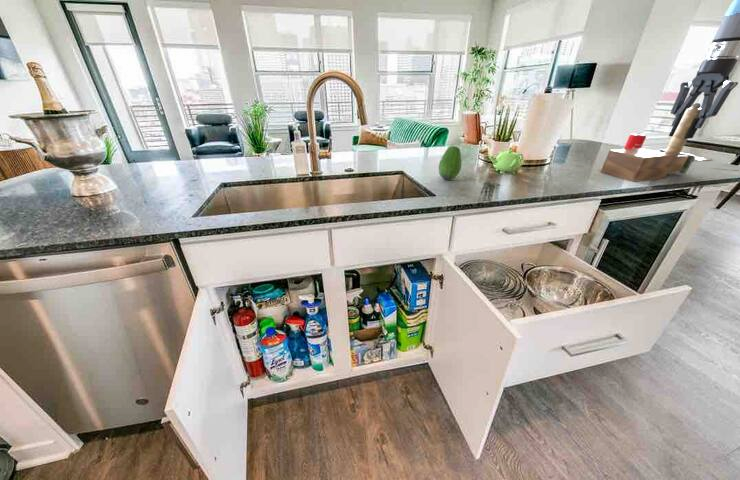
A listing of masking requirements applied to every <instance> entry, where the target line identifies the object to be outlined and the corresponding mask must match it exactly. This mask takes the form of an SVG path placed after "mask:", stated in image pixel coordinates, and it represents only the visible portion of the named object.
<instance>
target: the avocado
mask: <svg viewBox="0 0 740 480" xmlns="http://www.w3.org/2000/svg"><path fill="white" fill-rule="evenodd" d="M462 163H463V161H462V152H461V149H460V147H458V146H455V145H450V146H449V147H447V148H446V150H444V153H443V155H442V156H441V158H440V160H439V163H438V174H439V176H440V178H442V179H443V180H446V181H452V180H454V179H456V178H457V177H458V175H459V174H460V172H461V170H462Z"/></svg>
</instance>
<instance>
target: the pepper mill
mask: <svg viewBox="0 0 740 480" xmlns="http://www.w3.org/2000/svg"><path fill="white" fill-rule="evenodd" d="M701 106H702V104H701V103H699V102H696V103H693V104H692V105H691V107H690V108H686V110H685V112H684V114H683V116H682V118H681V120H680V122H679V124H678V126H677V128H676V130H675V132H674V134H673V136H672V137H671V138H670V141H669V142H668V144H667V146H666V148H665V149H664V150H665V152H664V153H668V154H674V155H677V156H679V154H680V153H682V151H683V148H684V147H685V145H686V143H687V141H688V139H685V138H684V137H685V135H686V133H687V132H688V130H689V128H690V126H691V124H692V122H693V120H694V118H697V117H698V116H699V113H700V109H701Z"/></svg>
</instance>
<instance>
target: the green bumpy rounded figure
mask: <svg viewBox="0 0 740 480" xmlns="http://www.w3.org/2000/svg"><path fill="white" fill-rule="evenodd" d="M488 159H489V160H490V161H491V162H492V165H493V168H494V169H495V171H497V172H498V171H499V174H505V172H509V173H510V174H512V175H513V174H516V171H518V170H519V169H520V167H522V166H523V159H524V154H523V153H520V152H519V153H518V152H515V151H514V150H513V149H507V151H505V150H499V154H498V155H497V156H496V158H495V156H494V155H493V154H490V155H488Z"/></svg>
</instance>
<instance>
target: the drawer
mask: <svg viewBox="0 0 740 480" xmlns="http://www.w3.org/2000/svg"><path fill="white" fill-rule="evenodd" d="M665 150H666V149H662V148H659V149H657V150H656V149H654V150H653V151H658V152H663V153H664V152H665ZM695 156H697V155H696V154H691V153H685V152H680V154H679V156H676V157H675V159H674V161H673V163H672V165H671V167H670V169H669V170H668V172H667V174H666V175H672V174H673V175H674V174H682V175H685V174H687V172H688V170H689V169H690V167H691V165H692V164H693V163H694V162H695V161H696V160H695Z"/></svg>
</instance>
